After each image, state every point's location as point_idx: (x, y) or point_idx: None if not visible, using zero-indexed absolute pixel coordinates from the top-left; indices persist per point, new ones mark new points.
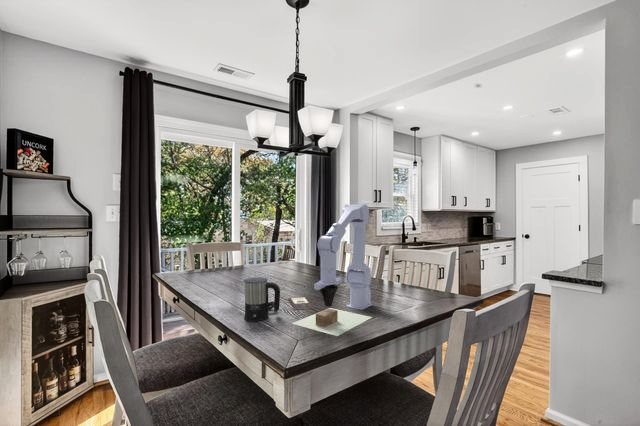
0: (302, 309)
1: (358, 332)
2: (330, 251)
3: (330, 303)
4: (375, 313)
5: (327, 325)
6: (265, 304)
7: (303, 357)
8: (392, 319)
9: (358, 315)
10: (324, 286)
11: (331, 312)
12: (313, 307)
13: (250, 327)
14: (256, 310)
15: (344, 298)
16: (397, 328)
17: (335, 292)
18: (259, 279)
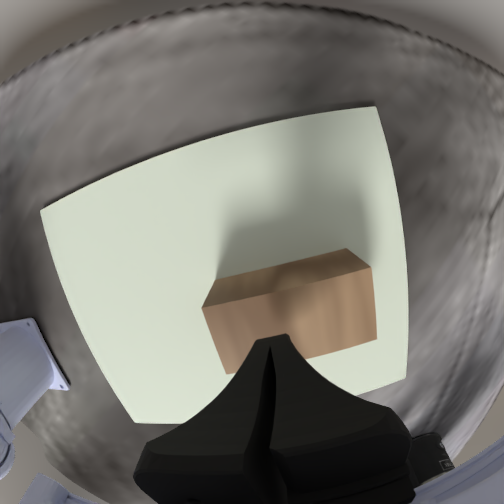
0: None
1: (232, 82)
2: None
3: (286, 343)
4: (12, 251)
5: (320, 255)
6: (421, 477)
7: None
8: (10, 150)
9: (71, 273)
10: (423, 498)
11: (274, 300)
12: None
13: (474, 397)
14: (445, 456)
15: (52, 428)
16: (67, 52)
17: (199, 415)
18: None
